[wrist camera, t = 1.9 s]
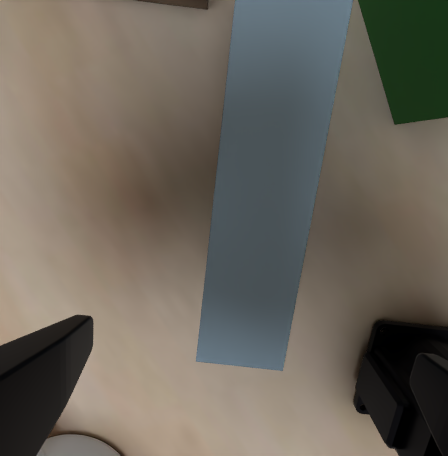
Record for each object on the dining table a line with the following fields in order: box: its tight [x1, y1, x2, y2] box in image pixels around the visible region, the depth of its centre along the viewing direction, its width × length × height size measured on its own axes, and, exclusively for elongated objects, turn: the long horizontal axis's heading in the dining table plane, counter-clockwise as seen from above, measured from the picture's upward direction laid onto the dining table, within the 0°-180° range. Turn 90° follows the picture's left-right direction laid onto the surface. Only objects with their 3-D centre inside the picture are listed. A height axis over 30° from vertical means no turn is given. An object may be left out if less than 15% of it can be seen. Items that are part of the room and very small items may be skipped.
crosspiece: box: [196, 0, 353, 371], centre depth 13 cm, size 14×3×8 cm, turn 173°
